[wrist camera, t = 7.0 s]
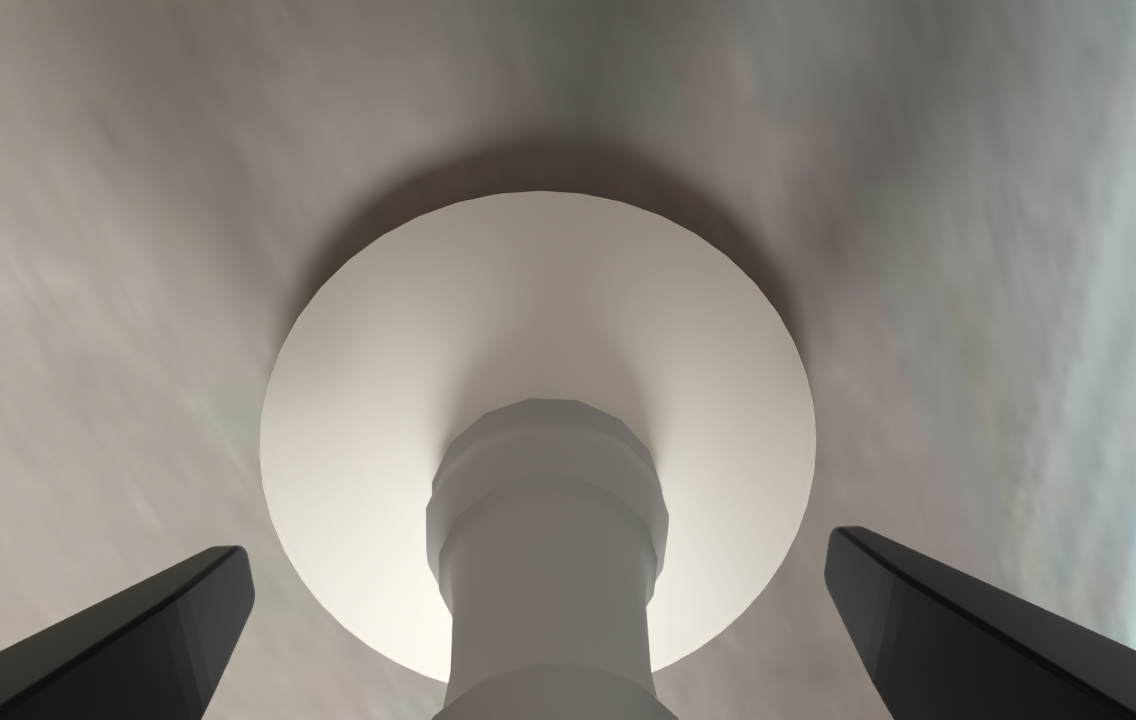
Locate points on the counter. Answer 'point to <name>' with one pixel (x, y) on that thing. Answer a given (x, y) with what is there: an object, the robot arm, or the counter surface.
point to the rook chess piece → (548, 565)
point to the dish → (534, 370)
